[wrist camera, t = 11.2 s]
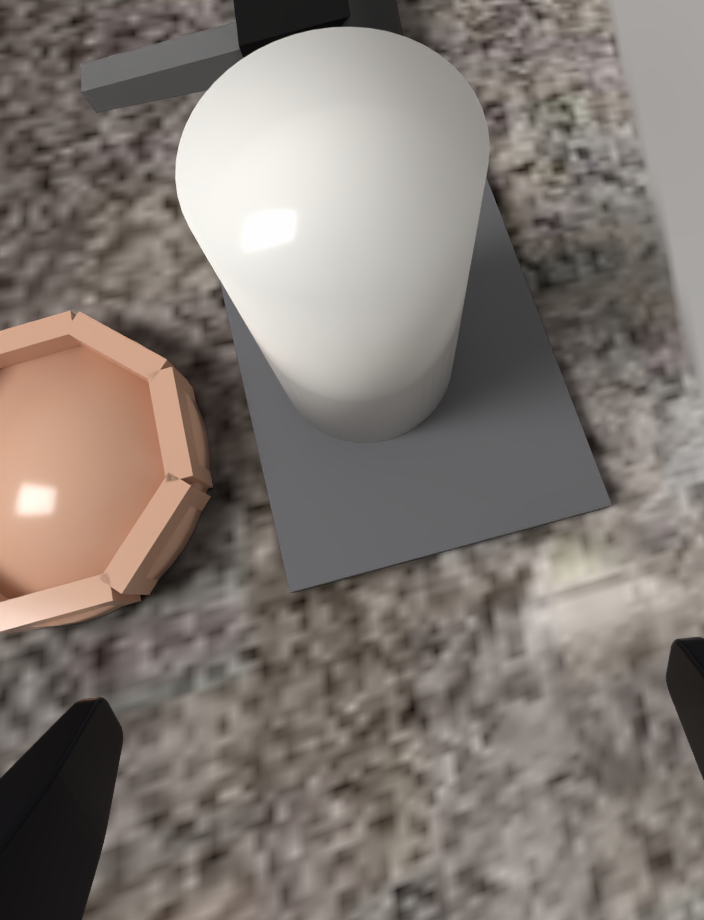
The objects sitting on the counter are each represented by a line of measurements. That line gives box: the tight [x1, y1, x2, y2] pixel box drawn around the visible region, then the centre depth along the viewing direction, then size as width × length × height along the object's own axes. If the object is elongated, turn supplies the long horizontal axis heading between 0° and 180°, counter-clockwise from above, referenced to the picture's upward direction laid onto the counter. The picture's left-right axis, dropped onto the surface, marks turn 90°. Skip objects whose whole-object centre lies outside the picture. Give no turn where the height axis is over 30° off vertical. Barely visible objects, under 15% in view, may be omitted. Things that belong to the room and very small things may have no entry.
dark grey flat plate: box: [220, 178, 612, 593], centre depth 23 cm, size 16×12×1 cm
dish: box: [0, 311, 213, 633], centre depth 23 cm, size 12×12×2 cm
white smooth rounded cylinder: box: [176, 27, 490, 443], centre depth 18 cm, size 7×7×11 cm
